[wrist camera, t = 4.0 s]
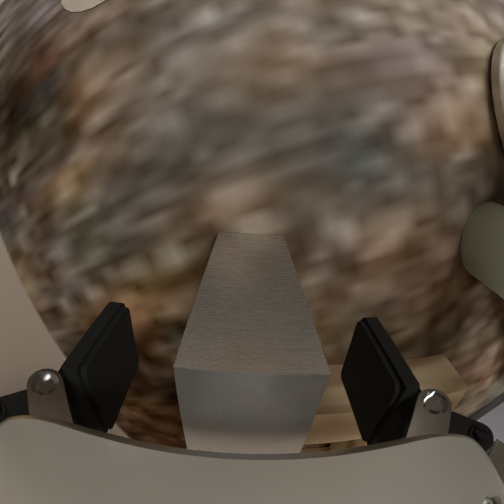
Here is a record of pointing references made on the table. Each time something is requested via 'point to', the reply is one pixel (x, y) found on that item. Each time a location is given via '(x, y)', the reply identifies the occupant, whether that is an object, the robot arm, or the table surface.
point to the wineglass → (80, 4)
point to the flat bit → (249, 352)
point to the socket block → (340, 412)
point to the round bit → (485, 246)
